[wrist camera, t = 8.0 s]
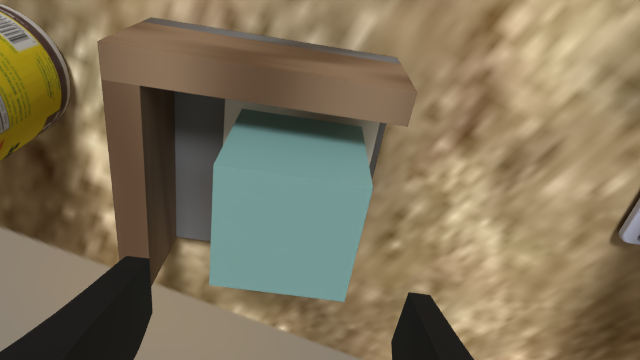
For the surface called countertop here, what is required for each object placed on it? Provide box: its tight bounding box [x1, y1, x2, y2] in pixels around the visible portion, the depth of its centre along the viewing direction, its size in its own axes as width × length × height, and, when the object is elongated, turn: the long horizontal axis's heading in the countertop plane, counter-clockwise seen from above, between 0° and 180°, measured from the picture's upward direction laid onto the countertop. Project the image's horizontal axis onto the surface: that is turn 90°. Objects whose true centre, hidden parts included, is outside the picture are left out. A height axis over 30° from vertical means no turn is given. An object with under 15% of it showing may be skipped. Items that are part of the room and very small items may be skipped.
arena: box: [97, 18, 417, 286], centre depth 18 cm, size 10×10×4 cm
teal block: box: [209, 109, 373, 302], centre depth 17 cm, size 5×5×5 cm
